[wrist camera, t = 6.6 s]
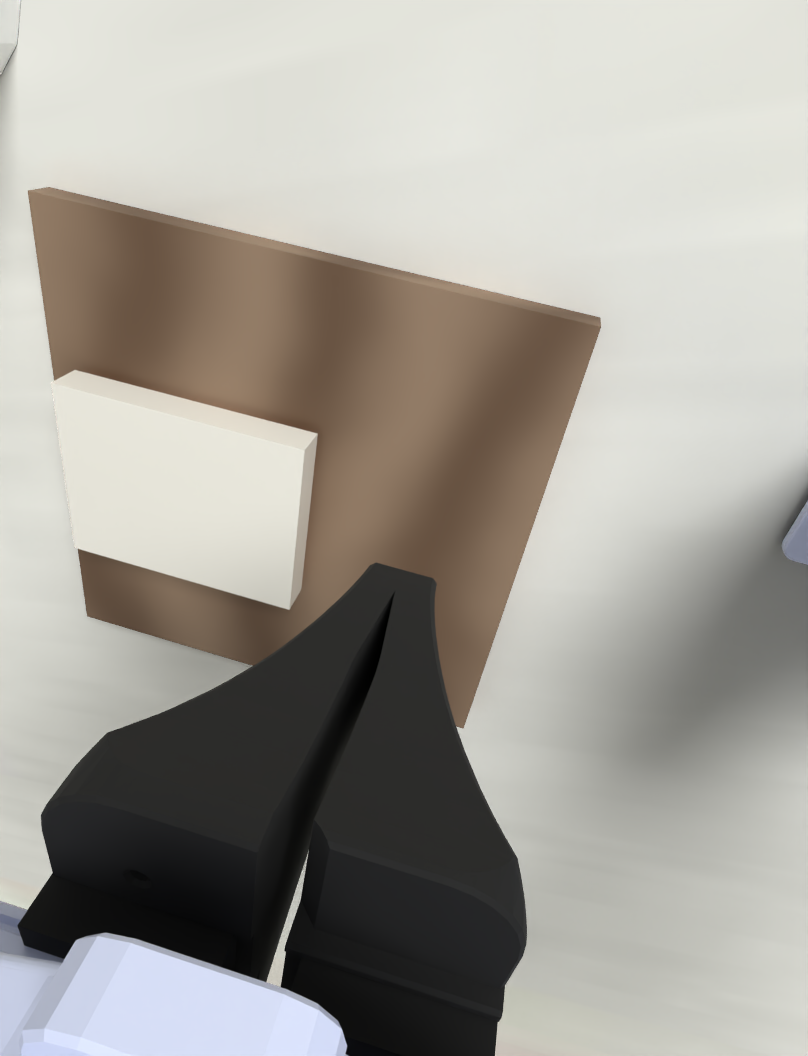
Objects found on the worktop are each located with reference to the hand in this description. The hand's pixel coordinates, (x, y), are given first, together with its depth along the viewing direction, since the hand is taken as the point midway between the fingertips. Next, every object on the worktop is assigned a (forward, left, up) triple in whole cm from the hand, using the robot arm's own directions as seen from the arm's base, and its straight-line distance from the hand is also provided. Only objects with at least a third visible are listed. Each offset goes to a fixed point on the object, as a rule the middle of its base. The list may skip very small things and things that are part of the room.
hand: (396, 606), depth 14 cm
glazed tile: (+5, +5, -9) cm, 11 cm away
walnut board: (+6, +5, -10) cm, 13 cm away
